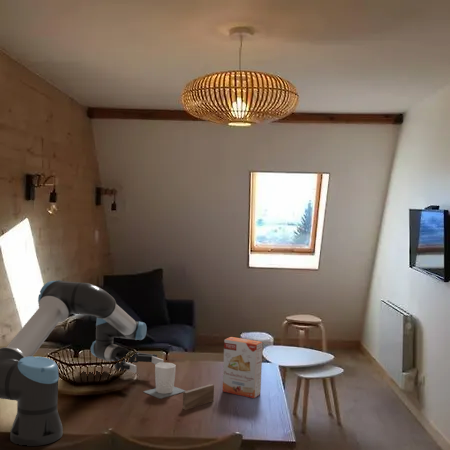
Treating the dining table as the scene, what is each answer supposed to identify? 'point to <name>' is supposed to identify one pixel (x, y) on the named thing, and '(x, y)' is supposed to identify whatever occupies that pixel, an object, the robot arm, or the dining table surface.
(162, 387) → the white cup
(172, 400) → the dining table surface
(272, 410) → the dining table surface
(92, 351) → the robot arm
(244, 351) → the cracker box
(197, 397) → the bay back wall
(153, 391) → the front mat
